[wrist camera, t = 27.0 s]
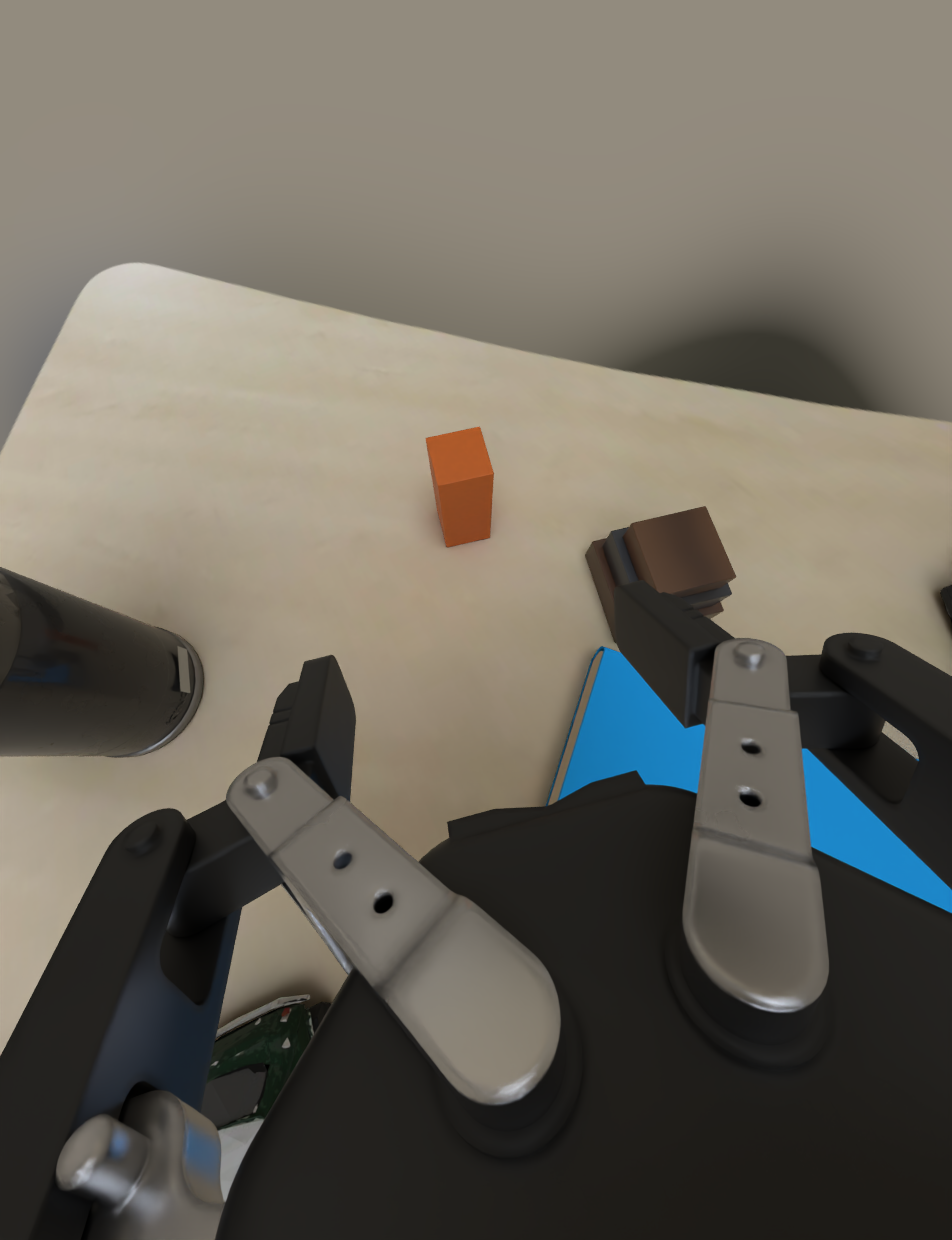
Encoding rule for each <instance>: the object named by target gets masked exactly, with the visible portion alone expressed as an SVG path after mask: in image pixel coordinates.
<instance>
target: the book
mask: <svg viewBox="0 0 952 1240" xmlns="http://www.w3.org/2000/svg"><path fill="white" fill-rule="evenodd" d="M704 734H705V725H704V724H700V725H696V726H693V727H689V728H684V726H683V725H682V724H681V723H680V722H679V721H678V719H677V718H676V717H675V716H674V715H673V713H672V712H671V711H670V710H669V709H668V708H667V706H666V705H665V704H664V703H663V702H662V700H661V699H660V698H659V697H658V696H657V695H656V693H655V692H654V691H653V690H652V689H651V687H650V686H649V685H648V684H647V683H646V682H645V680H644V679H643V678H642V677H641V676H640V675H639V673H638V672H637V671H636V670H635V669H634V667H633V666H632V665H631V664H630V663H629V662H628V660H627V659H626V658H625V657H624V656H623V654H622V653H620V652H617V651H614V650H612V649H609V648H606V647H603V646H601V647H600V648H599V649H598V650H597V652H596V653H595V655H594V657H593V658H592V660H591V663H590V666H589V669H588V672H587V676H586V679H585V682H584V685H583V688H582V692H581V695H580V698H579V701H578V704H577V708H576V711H575V714H574V717H573V720H572V724H571V727H570V730H569V733H568V736H567V739H566V743H565V746H564V749H563V752H562V755H561V759H560V762H559V765H558V768H557V771H556V775H555V778H554V781H553V784H552V787H551V791H550V794H549V797H548V800H547V803H546V806H549V805H551V804H553V803H555V802H557V801H558V800H560V799H562V798H564V797H566V796H567V795H569V794H571V793H573V792H575V791H576V790H578V789H580V788H582V787H584V786H586V785H587V784H589V783H591V782H595V781H598V780H602V779H606V778H609V777H613V776H617V775H620V774H624V773H627V772H631V771H635V770H637V772H638V773H639V775H640V777H641V778H642V780H643V781H644V783H645V784H654V785H666V786H672V787H677V788H681V789H685V790H689V791H692V792H695V793H697V791H698V783H699V775H700V767H701V758H702V750H703V742H704ZM802 758H803V768H804V778H805V789H806V799H807V809H808V820H809V830H810V841H811V847H813V848H815V849H817V850H819V851H821V852H824V853H826V854H828V855H830V856H832V857H834V858H836V859H838V860H840V861H843V862H845V863H847V864H849V865H851V866H853V867H855V868H857V869H860V870H862V871H864V872H866V873H868V874H870V875H872V876H874V877H876V878H879V879H881V880H883V881H885V882H887V883H889V884H891V885H893V886H895V887H898V888H900V889H902V890H904V891H906V892H908V893H910V894H912V895H915V896H917V897H919V898H921V899H923V900H925V901H927V902H929V903H931V904H934V905H936V906H938V907H940V908H942V909H944V910H946V911H948V912H951V913H952V890H951V889H950V888H949V887H948V886H947V885H946V884H945V883H944V882H943V881H942V880H941V879H940V878H939V877H938V876H937V875H936V874H935V873H934V872H933V871H932V870H931V869H930V868H929V867H928V866H927V865H926V864H925V863H924V862H923V861H922V860H921V859H920V858H918V857H917V856H916V855H915V854H914V853H913V852H912V851H911V850H910V849H909V848H908V847H907V846H906V845H905V844H904V843H903V842H902V841H901V840H900V839H899V838H898V837H897V836H896V835H895V834H894V833H893V832H892V831H891V830H890V829H889V828H888V827H887V826H886V825H885V824H884V823H883V822H882V821H881V820H880V819H879V818H878V817H877V816H875V815H874V814H873V813H872V812H871V811H870V810H869V809H868V808H867V807H866V806H865V805H864V804H863V803H862V802H861V801H860V800H859V799H858V798H857V797H856V796H855V795H854V794H853V793H852V792H851V791H850V790H849V789H848V788H847V787H846V786H845V785H844V784H843V783H842V782H841V781H840V780H839V779H838V778H837V777H836V776H835V775H834V774H833V773H831V772H830V771H829V770H828V769H827V768H826V767H825V766H824V765H823V764H822V763H821V762H820V761H819V760H818V759H817V758H816V757H815V756H814V755H813V754H812V753H811V752H810V751H809V750H808V749H802ZM917 760H918V759H917ZM918 761H919V760H918Z"/></svg>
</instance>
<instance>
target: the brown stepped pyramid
mask: <svg viewBox="0 0 952 1240" xmlns="http://www.w3.org/2000/svg"><path fill="white" fill-rule="evenodd" d="M585 556H586V559H587V562H588V565H589V568H590V571H591V574H592V576H593V579H594V582H595V585H596V588H597V591H598V594H599V597H600V600H601V603H602V606H603V609H604V612H605V615H606V617H607V620H608V623H609V626H610V629H611V632H612V635H613V638H614V641H615V643H617V642H616V638H615V624H614V589H615V587H616V586H619V585H623V584H627V583H631V582H635V581H639V580H644V581H645V582H647V583H648V584H649V585H650V586H652V587H653V588H654V589H655V590H657V591H658V592H659V593H662V592H666V593H669V594H672V595H675V596H677V597H680V598H682V599H684V600H685V601H686V602H688V603H689V604H690V605H692V606H693V607H694V609H697V610H698V611H699V612H701V613H702V614H703V616H704V617H705V616H706V617H707V618H709V619H710V618H712V617H714V616H716V615H717V614H719V613H721V612H723V611H724V610H723V607H722V605H721V603H720V601H722V600H723V599H725V598H727V597H728V596H730V595H731V594H732V592H731V590H730V588H729V585H728V582H730V581H731V580H733V579H734V578H736V575H735V573H734V570H733V568H732V566H731V564H730V561H729V559H728V557H727V554H726V552H725V550H724V547H723V545H722V543H721V540H720V538H719V536H718V533H717V531H716V529H715V527H714V524H713V522H712V520H711V517H710V515H709V513H708V510H707V508H706V506H704V507H700V508H695V509H691V510H687V511H682V512H678V513H674V514H670V515H665V516H661V517H657V518H652V519H648V520H644V521H640V522H635V523H632V524H631V525H630V527H627V528H623V529H619V530H614V531H611V533H610V534H609V536H608V537H607V538H606V539H602V540H597V541H593V542H592V544H591V545H590V547H589V549H588V551H587V553H586V555H585Z"/></svg>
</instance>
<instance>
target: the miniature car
mask: <svg viewBox="0 0 952 1240" xmlns="http://www.w3.org/2000/svg"><path fill="white" fill-rule="evenodd" d="M305 998H307V999H305ZM309 999H310V995H298V996H290V997H282V998H278V999H276V1000H274V1001H273V1002H270V1003H268V1004H266V1005H264V1006H262V1007H260V1008H258V1009H256V1010H254V1011H251V1012H249V1013H247V1014H245V1015H243V1016H241V1017H239V1018H237V1019H235V1020H233V1021H232V1022H230V1023H228V1024H227V1025H225V1026H223V1027H222V1028H220V1029H218V1030H217V1034H216V1038H218V1037H219V1036H221V1035H222V1034H224V1033H226V1032H227V1031H229V1030H231V1029H232V1028H234V1027H236V1026H238V1025H240V1024H242V1023H244V1022H246V1021H248V1020H251V1019H253V1018H255V1017H257V1016H259V1015H261V1014H263V1013H265V1012H267V1011H269V1010H271V1009H274V1008H277V1007H280V1008H277V1009H275V1010H273V1011H271V1012H269V1013H267V1014H265V1015H263V1016H261V1017H259V1018H257V1019H255V1020H253V1021H251V1022H249V1023H247V1024H245V1025H243V1026H241V1027H239V1028H237V1029H235V1030H233V1031H231V1032H229V1033H227V1034H225V1035H223V1036H222V1037H220V1038H219V1039H217V1040H216V1041H215V1043H214V1048H213V1053H212V1058H211V1063H210V1068H209V1073H208V1078H207V1083H206V1088H205V1093H204V1098H203V1103H202V1108H201V1114H202V1115H204V1116H205V1117H206V1118H208V1119H209V1120H211V1121H212V1123H213V1124H214V1125H215V1126H216V1128H217V1130H218V1133H219V1136H220V1140H221V1151H222V1153H221V1170H220V1181H221V1190H222V1194H223V1199H224V1201H225V1202H226V1199H227V1196H228V1193H229V1190H230V1187H231V1185H232V1182H233V1180H234V1177H235V1175H236V1173H237V1170H238V1168H239V1166H240V1164H241V1161H242V1159H243V1157H244V1155H245V1153H246V1151H247V1149H248V1148H249V1146H250V1144H251V1142H252V1140H253V1138H254V1137H255V1135H256V1133H257V1131H258V1130H259V1128H260V1126H261V1125H262V1123H263V1121H264V1119H265V1118H266V1116H267V1114H268V1113H269V1111H270V1109H271V1107H272V1106H273V1104H274V1102H275V1100H276V1099H277V1097H278V1095H279V1094H280V1092H281V1090H282V1088H283V1087H284V1085H285V1083H286V1082H287V1080H288V1078H289V1076H290V1075H291V1073H292V1071H293V1069H294V1068H295V1066H296V1064H297V1063H298V1061H299V1059H300V1057H301V1056H302V1054H303V1052H304V1051H305V1049H306V1047H307V1045H308V1044H309V1042H310V1040H311V1038H312V1037H313V1035H314V1033H315V1032H316V1030H317V1028H318V1026H319V1025H320V1023H321V1021H322V1020H323V1018H324V1016H325V1014H326V1013H327V1011H328V1009H329V1008H330V1006H331V1003H326V1002H321V1003H319V1004H317V1005H315V1006H313V1007H311V1008H309V1009H308V1007H307V1010H306V1009H305V1005H304V1004H296V1003H298V1002H302V1001H307V1000H309ZM286 1005H287V1006H286ZM282 1006H283V1007H282Z"/></svg>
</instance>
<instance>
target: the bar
mask: <svg viewBox="0 0 952 1240" xmlns="http://www.w3.org/2000/svg"><path fill="white" fill-rule="evenodd" d="M426 444H427V450H428V456H429V463H430V469H431V475H432V481H433V487H434V493H435V499H436V506H437V511H438V515H439V519H440V523H441V527H442V531H443V535H444V539H445V543H446V547H451V546H455V545H460V544H464V543H469V542H473V541H477V540H482V539H486V538H490V527H491V510H492V494H493V478H494V473H493V469H492V466H491V462H490V459H489V456H488V452H487V449H486V445H485V442H484V439H483V435H482V432H481V429H480V427H476V428H471V429H466V430H462V431H457V432H452V433H447V434H443V435H438V436H433V437H428V438H426Z"/></svg>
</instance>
